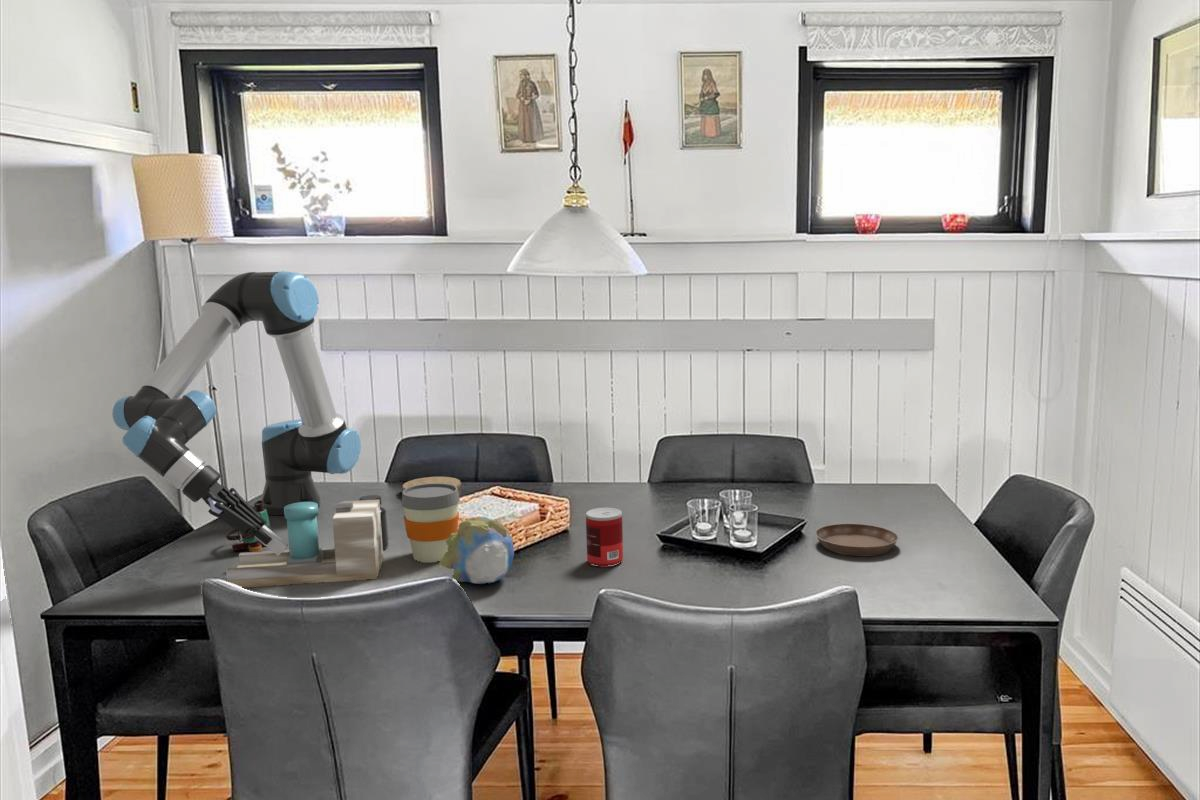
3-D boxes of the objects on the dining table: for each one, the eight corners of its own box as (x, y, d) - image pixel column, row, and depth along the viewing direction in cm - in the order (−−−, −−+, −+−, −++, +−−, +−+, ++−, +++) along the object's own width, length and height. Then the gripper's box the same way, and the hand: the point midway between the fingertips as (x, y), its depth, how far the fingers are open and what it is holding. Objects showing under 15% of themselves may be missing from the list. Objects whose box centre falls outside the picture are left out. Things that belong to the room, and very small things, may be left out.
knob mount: (242, 567, 207) (236, 502, 205) (383, 558, 210) (379, 495, 208) (226, 588, 194) (220, 519, 192) (376, 579, 198) (372, 511, 195)
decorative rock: (490, 517, 186) (511, 499, 200) (417, 538, 189) (443, 519, 204) (513, 584, 187) (532, 561, 201) (440, 603, 190) (464, 580, 205)
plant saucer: (833, 530, 223) (833, 518, 223) (908, 543, 213) (909, 529, 213) (802, 551, 209) (802, 538, 209) (881, 565, 199) (882, 551, 199)
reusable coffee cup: (436, 568, 203) (432, 500, 201) (392, 559, 210) (388, 493, 207) (473, 551, 214) (470, 486, 211) (431, 543, 220) (428, 480, 218)
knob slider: (292, 560, 205) (287, 502, 203) (324, 558, 206) (320, 500, 204) (285, 572, 198) (280, 512, 196) (318, 569, 199) (314, 510, 197)
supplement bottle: (395, 545, 220) (392, 494, 218) (376, 554, 214) (373, 502, 212) (371, 542, 222) (367, 492, 220) (351, 551, 216) (348, 499, 214)
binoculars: (234, 501, 225) (273, 498, 222) (242, 544, 226) (280, 541, 224) (212, 511, 216) (251, 508, 214) (220, 556, 217) (259, 553, 215)
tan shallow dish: (392, 494, 265) (391, 484, 265) (440, 483, 276) (440, 473, 275) (423, 505, 254) (422, 494, 253) (472, 493, 264) (472, 483, 264)
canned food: (627, 557, 207) (626, 508, 206) (616, 569, 200) (615, 519, 198) (594, 554, 210) (593, 506, 208) (582, 566, 203) (580, 516, 201)
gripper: (191, 482, 203) (278, 553, 207) (170, 498, 190) (263, 573, 194) (214, 456, 202) (301, 528, 207) (196, 471, 190) (288, 547, 194)
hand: (283, 550), depth 201 cm, fingers closed
